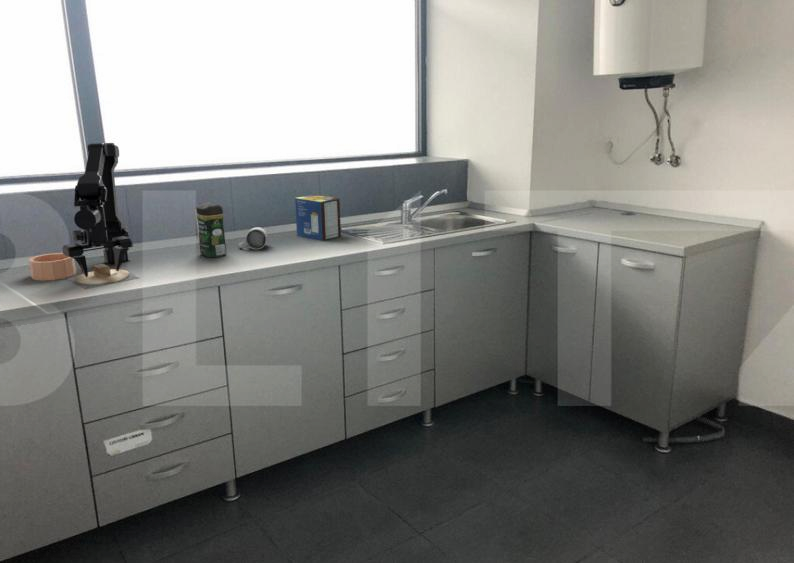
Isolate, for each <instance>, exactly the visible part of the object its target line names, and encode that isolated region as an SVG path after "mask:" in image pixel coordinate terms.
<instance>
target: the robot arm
mask: <svg viewBox="0 0 794 563" xmlns="http://www.w3.org/2000/svg"><path fill="white" fill-rule="evenodd" d="M86 148H87V159H86V164H85V171H84V174H83V175H81V176H80V177H79V178H78V179H77V183H76V185H75V187H74V203H73V206H74V207H79V210H77V212H76V213H75V214H74V218H73V221H74V224H75V225H76V226H77V228H79V229H78V230H73V231H72V236H73V240H74V242H75V243H68V244H64V245H63V246H62V248H61V249H62V253H63V254H64V255H66V256H68V257H71V258H73V259H74V261H75V262H76V263H77V264H78V266H79V267H80V269H81V271H82V274H84V275H85V276H86V277H88V265H87V259H86V258H87V257H86V255H83V254H84V253H85V252H88V251H89V252H90V251H95V250H102V249H103V258H104V262H103V263H107V264H109V265H111V266H112V265H114V268H115V269H116V271H119V269H120V267H121V264H123V263H129V262H131V260H130V259H129V252H128V251H129V250H130V248H133V247H134V244H133V240H132V238H131V237H130V233H129V231H128V230H127V228H126V227H125V222H124V221H123V219H122V218H121V217H120V215H119V213H118V202H117V190H116V183H115V182H116V181H115V169H116V167H117V166H118V163H119V157H120V149H119V146H118V145H116V144H114V142H91V143H88V144H87V147H86ZM81 229H82V230H83V231H81ZM77 242H81V243H80V244H79V243H77Z"/></svg>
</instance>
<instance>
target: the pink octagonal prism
mask: <svg viewBox="0 0 794 563" xmlns="http://www.w3.org/2000/svg"><path fill="white" fill-rule="evenodd" d="M75 262H76V260H75V259H73V258H71V257H68V256H66V255H64V254H63V252H60V253H56V252H54V253H45V254H40V255H36V256H33V257H30V259H28V264H29V265H28V266H29V271H30V277H31V279H32V280H34V281H42V282H43V281H54V280H55V281H56V280H62V279H66V278H70V277H74V276H75V275H76V273H77V268H76V263H75Z"/></svg>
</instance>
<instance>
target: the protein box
mask: <svg viewBox="0 0 794 563" xmlns="http://www.w3.org/2000/svg"><path fill="white" fill-rule="evenodd" d="M294 201H295V202H294V203H295V220H296V221H295V222H296V224H295V225H296V236H297V237H302V238H307V239H310V240H311V239H312V240H317V241H327V240H330V239H335V238H340V237H342V232H341V231H342V228H341V226H342V224H341V204H340V203H341V201H340V198H339V197H333V196H325V195H324V196H323V195H316V194H312V195H306V196H305V195H304V196H299V197H298V196H297V197H294Z"/></svg>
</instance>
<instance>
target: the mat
mask: <svg viewBox="0 0 794 563" xmlns="http://www.w3.org/2000/svg"><path fill="white" fill-rule="evenodd" d="M77 276H78V275H76V276H70V277H67V278H65V279H66V280H67V281H70V282H71V283H74V284H75V285H77V286H79V287H81V288H83V289H85V290H87V289H93V288H98V287H103V286H108V285H112V284H113V285H114V284H117V283H123V282H127V281H131V280H132V281H133V280H137V279H140V276H136V275H135V274H131V273H130V272H129V277H128V278H126V279H124V280H122V281H118V282H114V283H109V284H101V285H82V284H78V283H76V281H75V278H76V277H77Z"/></svg>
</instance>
